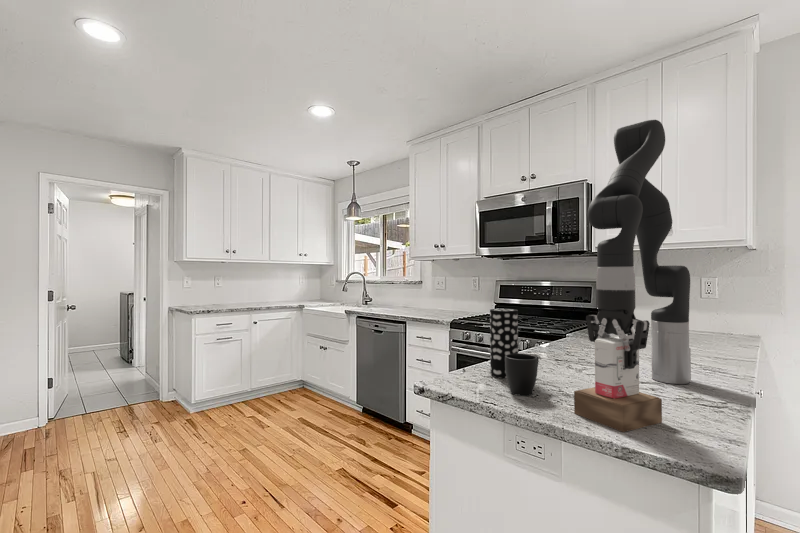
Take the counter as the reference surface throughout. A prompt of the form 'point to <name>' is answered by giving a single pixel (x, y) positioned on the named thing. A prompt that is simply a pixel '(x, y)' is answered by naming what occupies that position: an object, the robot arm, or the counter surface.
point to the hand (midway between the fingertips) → (616, 364)
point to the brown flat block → (618, 409)
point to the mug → (521, 373)
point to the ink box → (614, 369)
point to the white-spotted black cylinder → (502, 339)
